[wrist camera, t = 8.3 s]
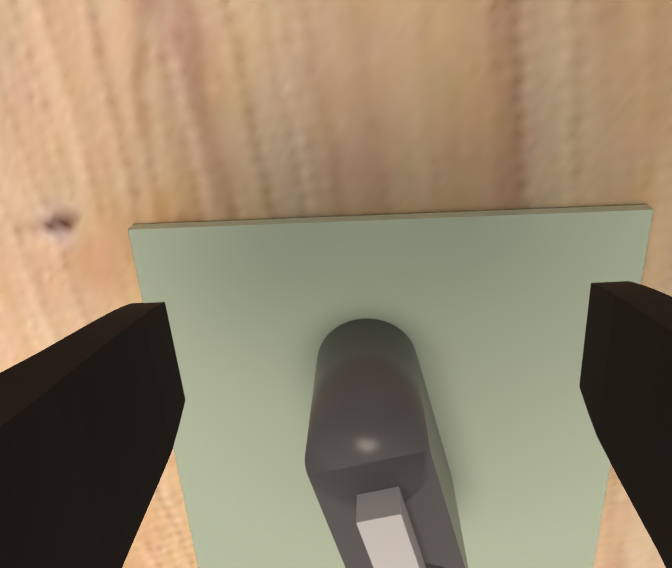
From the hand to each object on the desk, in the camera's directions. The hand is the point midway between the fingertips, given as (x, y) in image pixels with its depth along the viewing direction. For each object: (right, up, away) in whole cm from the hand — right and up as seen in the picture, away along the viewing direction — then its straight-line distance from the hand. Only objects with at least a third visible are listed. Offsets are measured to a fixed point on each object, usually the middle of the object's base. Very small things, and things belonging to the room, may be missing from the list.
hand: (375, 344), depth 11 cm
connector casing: (+1, -4, +12) cm, 12 cm away
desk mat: (+1, -4, +12) cm, 13 cm away
